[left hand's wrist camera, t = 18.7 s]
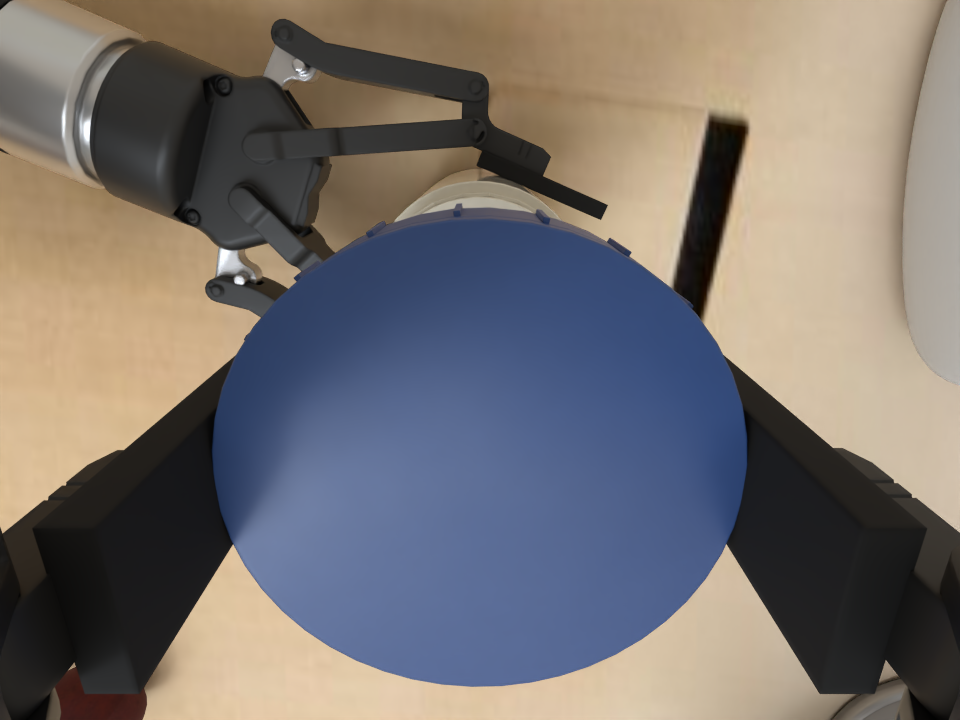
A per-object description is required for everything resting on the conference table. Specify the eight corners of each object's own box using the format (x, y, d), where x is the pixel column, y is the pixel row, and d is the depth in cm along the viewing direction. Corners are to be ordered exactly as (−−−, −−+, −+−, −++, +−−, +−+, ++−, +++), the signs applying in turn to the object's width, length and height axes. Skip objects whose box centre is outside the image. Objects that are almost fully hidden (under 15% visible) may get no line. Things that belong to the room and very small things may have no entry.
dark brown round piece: (64, 637, 47) (-5, 717, 40) (161, 647, 47) (109, 729, 41) (72, 702, 49) (9, 788, 43) (164, 712, 50) (116, 799, 43)
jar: (528, 149, 34) (561, 150, 20) (564, 288, 37) (614, 373, 23) (388, 194, 35) (328, 225, 21) (434, 326, 38) (408, 430, 24)
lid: (215, 565, 13) (175, 629, 11) (294, 130, 10) (256, 127, 8) (608, 659, 14) (626, 731, 12) (794, 290, 11) (855, 317, 9)
